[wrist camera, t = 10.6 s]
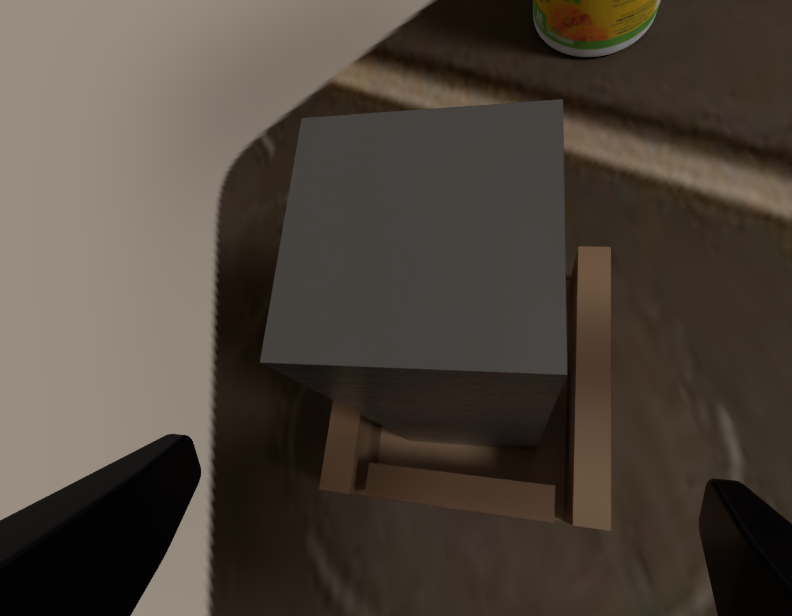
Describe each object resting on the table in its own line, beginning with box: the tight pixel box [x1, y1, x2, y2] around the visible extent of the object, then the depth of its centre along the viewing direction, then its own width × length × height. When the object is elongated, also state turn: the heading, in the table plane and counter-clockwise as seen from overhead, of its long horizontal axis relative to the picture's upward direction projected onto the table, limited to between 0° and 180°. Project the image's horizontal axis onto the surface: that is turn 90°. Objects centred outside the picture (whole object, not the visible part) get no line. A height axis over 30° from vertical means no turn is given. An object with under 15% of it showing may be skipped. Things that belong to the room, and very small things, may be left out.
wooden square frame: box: [319, 246, 611, 531], centre depth 19 cm, size 9×9×4 cm
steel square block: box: [260, 99, 567, 450], centre depth 14 cm, size 4×4×12 cm
